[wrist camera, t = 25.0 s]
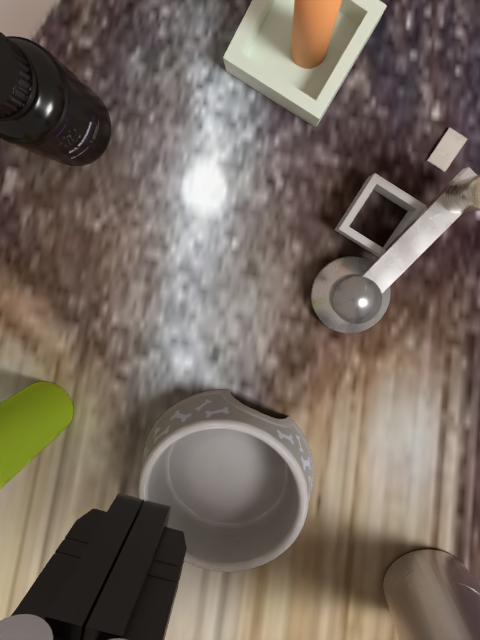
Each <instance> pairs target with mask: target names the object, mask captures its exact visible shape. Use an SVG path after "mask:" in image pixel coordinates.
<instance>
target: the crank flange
mask: <svg viewBox="0 0 480 640" xmlns="http://www.w3.org/2000/svg"><path fill="white" fill-rule="evenodd" d="M466 140H467V138H465V137H464V136H462V135H460V134H459V133H457V132H456V131H454V130H453V129H451V128H448V130H447V131H446V133H445V134H444V136H443V137H442V139H441V140H440V142H439V143H438V145H437V146H436V148H435V149H434V151H433V152H432V154H431V155H430V157H429V158H428V159H427V162H429V163H431V164H432V165H434V166H435V167H437V168H438V169H440V170H441V171H443V172H445V171H446V169H447V168H448V167H449V165H450V164H451V162H452V161H453V159H454V158H455V156H456V155H457V153H458V152H459V151H460V149H461V148H462V146H463V145H464V143H465V142H466ZM371 263H372V262H371V261H370V260H367V259H364V258H360V257H354V256H347V257H341V258H338V259H335V260H333V261H331V262H329V263H328V264H326V265H325V266H324V267H323V268H322V269H321V270H320V271H319V272H318V274H317V275H316V277H315V279H314V281H313V284H312V288H311V303H312V306H313V309H314V311H315V313H316V315H317V316H318V318H319V319H320V320H321V321H322V322H323V323H324V324H325V325H326V326H328V327H329V328H331V329H333V330H335V331H338V332H342V333H356V332H360V331H364V330H366V329H368V328H370V327H372V326H373V325H374V324H376V323H377V322H378V321H379V320H380V319H381V318H382V316H383V315H384V313H385V312H386V310H387V307H388V305H389V301H390V286H389V287H388V288H387V289H386V290H385V291H384V292H383V293H382V305H381V308H380V310H379V312H378V313H377V315H376V316H375V317H374V318H373V319H371V320H370V321H368V322H365V323H361V324H352V323H348V322H346V321H344V320H343V319H341V318H340V317H339V316H338V315H337V313H336V312H335V311H334V310H333V309H332V307H331V305H330V302H329V292H330V289H331V287H332V285H333V284H334V282H335V281H336V280H337V279H339V278H340V277H342V276H345V275H348V274H357V275H361V274H362V273H363V271H364V270H365V269H366V268H367V267H368V266H369V265H370V264H371Z"/></svg>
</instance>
